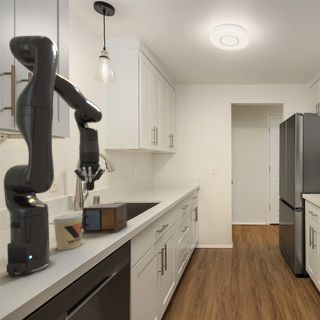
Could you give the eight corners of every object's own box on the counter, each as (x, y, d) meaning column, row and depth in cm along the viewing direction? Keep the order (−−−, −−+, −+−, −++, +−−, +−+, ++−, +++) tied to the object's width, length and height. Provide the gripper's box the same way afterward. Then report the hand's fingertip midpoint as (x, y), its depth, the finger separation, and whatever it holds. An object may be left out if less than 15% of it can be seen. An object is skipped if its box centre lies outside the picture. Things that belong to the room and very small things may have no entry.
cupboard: (116, 232, 111) (116, 207, 111) (83, 233, 112) (82, 207, 111) (127, 226, 121) (126, 203, 121) (96, 227, 122) (95, 203, 121)
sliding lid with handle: (94, 232, 108) (93, 212, 108) (80, 232, 108) (79, 212, 108) (100, 229, 112) (100, 209, 112) (86, 229, 112) (86, 210, 112)
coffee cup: (68, 251, 89) (67, 219, 89) (48, 250, 91) (47, 219, 91) (88, 242, 98) (88, 214, 98) (70, 241, 100) (69, 213, 100)
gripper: (68, 151, 102) (69, 191, 102) (98, 151, 101) (99, 191, 101) (80, 152, 109) (81, 189, 109) (108, 151, 109) (109, 189, 109)
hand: (90, 190), depth 105 cm, fingers closed
